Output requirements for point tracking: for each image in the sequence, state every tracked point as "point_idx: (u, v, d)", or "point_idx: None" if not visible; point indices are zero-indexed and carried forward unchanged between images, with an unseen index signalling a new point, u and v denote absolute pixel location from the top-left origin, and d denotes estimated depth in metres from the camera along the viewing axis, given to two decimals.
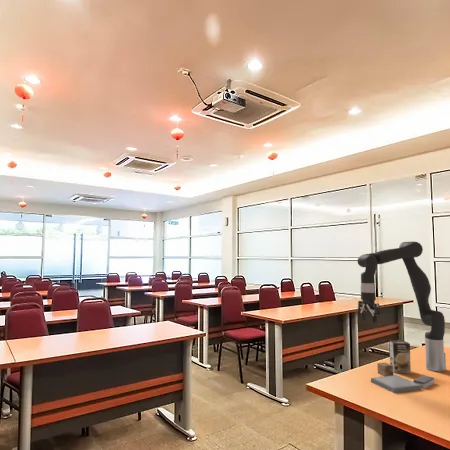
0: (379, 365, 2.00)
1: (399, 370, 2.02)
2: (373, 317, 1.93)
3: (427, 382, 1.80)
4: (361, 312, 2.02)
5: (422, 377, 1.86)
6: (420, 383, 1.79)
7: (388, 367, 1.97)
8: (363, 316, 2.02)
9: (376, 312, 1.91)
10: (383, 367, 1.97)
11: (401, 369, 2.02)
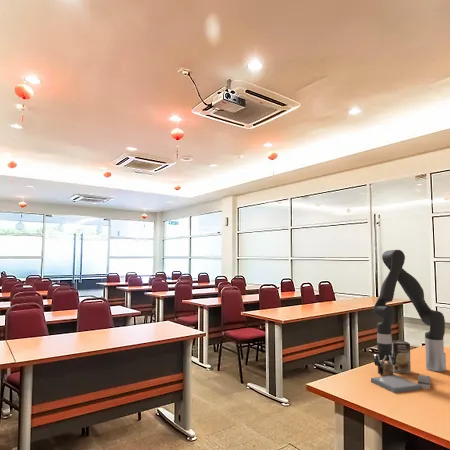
0: None
1: (399, 370, 2.02)
2: None
3: (429, 382, 1.80)
4: (381, 366, 1.98)
5: (420, 377, 1.86)
6: (425, 384, 1.78)
7: (388, 367, 1.97)
8: None
9: (395, 362, 2.01)
10: (384, 367, 1.97)
11: (401, 369, 2.02)
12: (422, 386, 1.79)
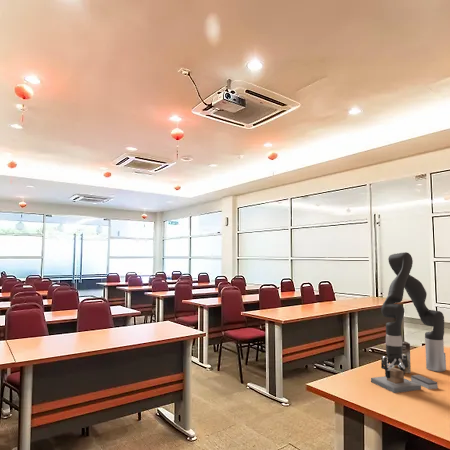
0: None
1: None
2: (403, 370, 1.83)
3: None
4: (389, 369, 1.80)
5: (418, 377, 1.85)
6: (434, 384, 1.78)
7: (398, 373, 1.80)
8: None
9: (407, 364, 1.84)
10: (393, 373, 1.80)
11: None
12: (432, 387, 1.78)
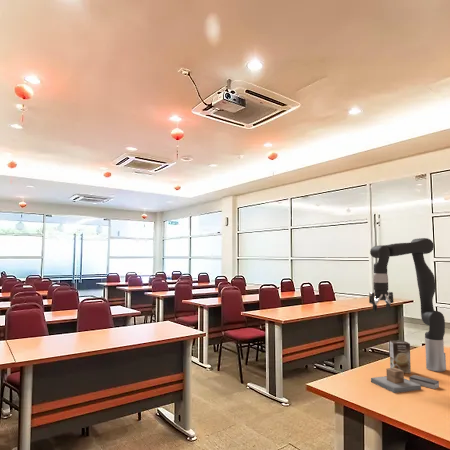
0: (388, 371, 1.83)
1: None
2: (389, 305, 2.02)
3: None
4: (376, 303, 1.99)
5: (419, 378, 1.84)
6: (437, 383, 1.80)
7: (398, 373, 1.80)
8: None
9: None
10: (393, 373, 1.80)
11: (401, 369, 2.02)
12: (436, 386, 1.79)
